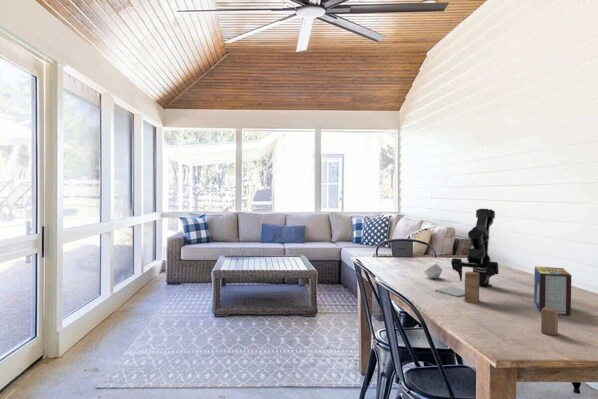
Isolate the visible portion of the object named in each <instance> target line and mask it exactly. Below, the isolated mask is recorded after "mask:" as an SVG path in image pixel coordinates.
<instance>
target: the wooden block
mask: <svg viewBox="0 0 598 399" xmlns="http://www.w3.org/2000/svg"><path fill="white" fill-rule="evenodd" d="M540 313H541V315H540V316H541V318H540V319H541V320H540V321H541V322H540V325H541V326H540V332H541V333H542V334H545V335H549V334H550V336H553V335H554V336H556V335H557V334H558V333H559V332H558V331H559V314H558V309H554V308H548V307H544V308H543V309H542V310H541V312H540Z"/></svg>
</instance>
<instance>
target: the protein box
mask: <svg viewBox="0 0 598 399" xmlns="http://www.w3.org/2000/svg"><path fill="white" fill-rule="evenodd" d="M533 289H534V290H533V292H534V293H533V303H534V305H535V306H536V308H537V310H538V312H539V311H540V312H539V313H541V310H542V309H543V308H544V307H548V308H554V309H558V315H562V314H565V315H564V316H571V315H572V274H571V273H570V272H568V270H566V269H565V268H563V267H551V266H536V265H535V266H534V288H533Z"/></svg>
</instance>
